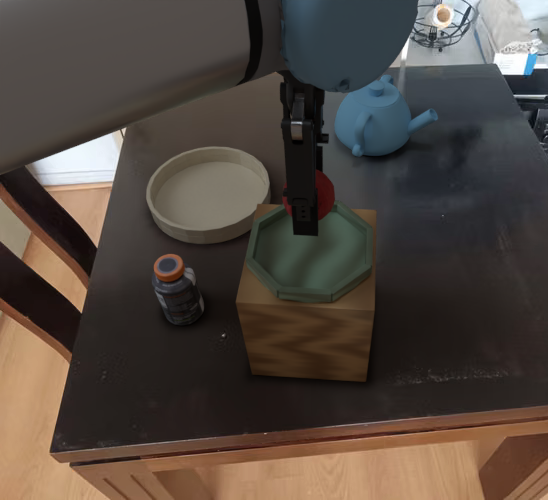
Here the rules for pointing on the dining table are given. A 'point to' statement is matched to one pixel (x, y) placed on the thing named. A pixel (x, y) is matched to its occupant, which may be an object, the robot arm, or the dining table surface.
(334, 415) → the dining table surface
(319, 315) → the stand
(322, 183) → the onion
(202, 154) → the cream bowl
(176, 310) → the pill bottle
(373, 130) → the teapot
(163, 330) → the dining table surface
